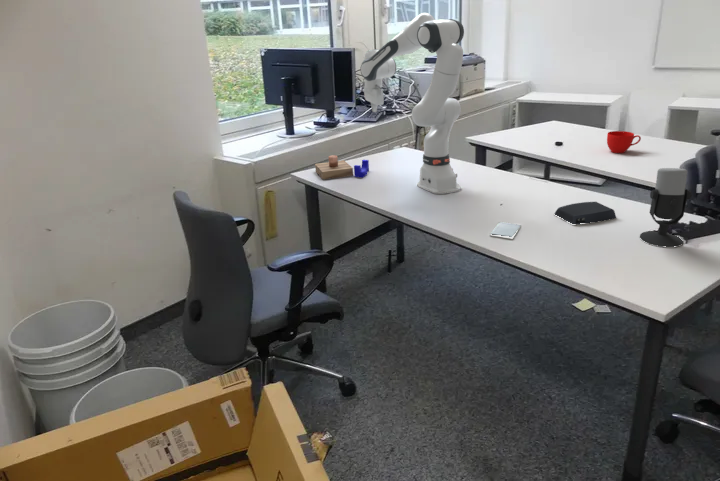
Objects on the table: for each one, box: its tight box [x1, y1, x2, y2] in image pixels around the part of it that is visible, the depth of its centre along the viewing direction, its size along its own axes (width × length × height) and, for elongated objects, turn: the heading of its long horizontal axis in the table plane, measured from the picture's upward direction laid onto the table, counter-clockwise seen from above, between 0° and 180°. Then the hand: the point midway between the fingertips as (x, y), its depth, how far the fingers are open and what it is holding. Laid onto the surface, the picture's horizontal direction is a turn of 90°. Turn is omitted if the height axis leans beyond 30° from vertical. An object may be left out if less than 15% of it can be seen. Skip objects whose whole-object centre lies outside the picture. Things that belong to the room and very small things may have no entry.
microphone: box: [639, 167, 693, 247], centre depth 169 cm, size 13×13×25 cm
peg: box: [328, 154, 339, 167], centre depth 262 cm, size 5×5×8 cm
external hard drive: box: [553, 201, 617, 224], centre depth 196 cm, size 13×19×4 cm
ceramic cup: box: [606, 130, 642, 154], centre depth 275 cm, size 13×17×10 cm
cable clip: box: [353, 159, 370, 178], centre depth 260 cm, size 12×4×6 cm, turn 157°
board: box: [314, 160, 354, 180], centre depth 264 cm, size 16×16×4 cm
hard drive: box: [489, 221, 522, 237], centre depth 186 cm, size 2×8×12 cm
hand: (374, 111), depth 260 cm, fingers closed
